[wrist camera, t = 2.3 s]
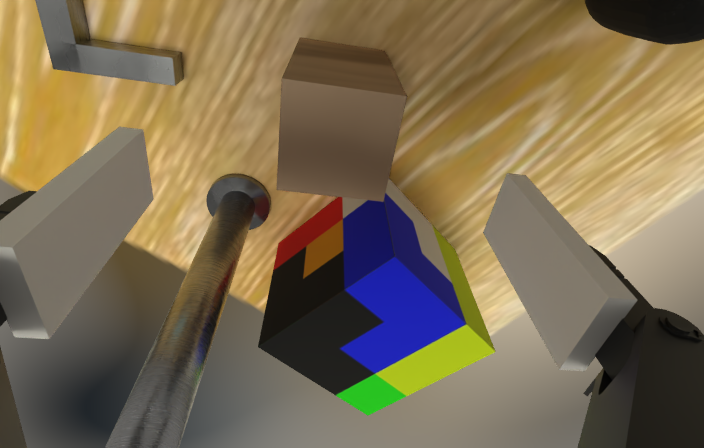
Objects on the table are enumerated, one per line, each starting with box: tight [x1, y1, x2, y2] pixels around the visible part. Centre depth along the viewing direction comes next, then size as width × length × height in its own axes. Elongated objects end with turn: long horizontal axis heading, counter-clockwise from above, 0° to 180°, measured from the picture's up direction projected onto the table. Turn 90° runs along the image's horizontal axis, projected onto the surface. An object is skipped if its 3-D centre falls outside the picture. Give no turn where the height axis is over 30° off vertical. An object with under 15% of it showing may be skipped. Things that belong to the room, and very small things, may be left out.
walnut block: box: [277, 38, 407, 202], centre depth 21 cm, size 5×5×9 cm
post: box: [105, 174, 271, 448], centre depth 19 cm, size 4×4×24 cm
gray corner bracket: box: [35, 0, 184, 86], centre depth 21 cm, size 6×6×2 cm
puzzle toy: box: [258, 179, 495, 415], centre depth 28 cm, size 10×10×10 cm
